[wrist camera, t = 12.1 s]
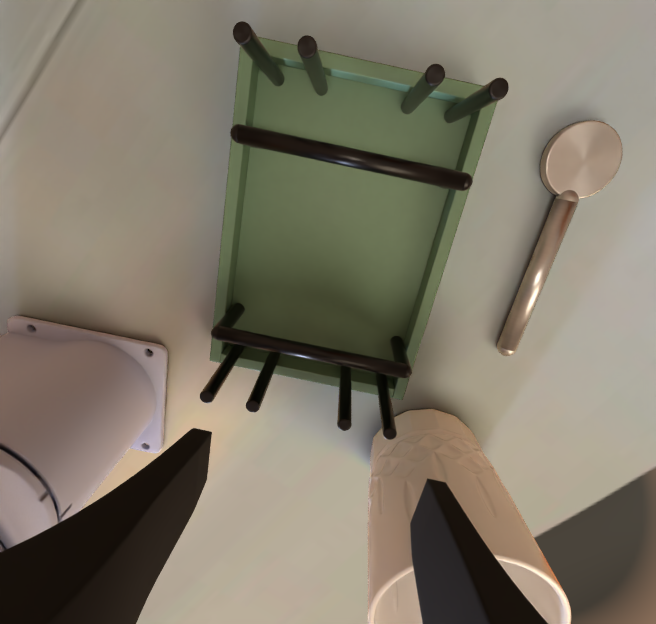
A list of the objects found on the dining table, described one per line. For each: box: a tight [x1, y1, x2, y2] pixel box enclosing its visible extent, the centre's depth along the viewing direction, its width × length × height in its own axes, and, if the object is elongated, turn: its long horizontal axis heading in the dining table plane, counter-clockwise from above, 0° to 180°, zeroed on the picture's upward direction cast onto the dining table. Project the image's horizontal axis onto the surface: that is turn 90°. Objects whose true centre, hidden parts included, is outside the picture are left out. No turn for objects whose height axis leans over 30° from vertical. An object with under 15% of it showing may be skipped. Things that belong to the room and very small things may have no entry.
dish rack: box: [200, 21, 508, 440], centre depth 17 cm, size 14×10×6 cm
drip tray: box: [210, 37, 497, 400], centre depth 19 cm, size 16×11×2 cm
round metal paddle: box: [497, 120, 622, 356], centre depth 19 cm, size 12×3×1 cm, turn 169°
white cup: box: [368, 409, 571, 624], centre depth 20 cm, size 8×8×10 cm
